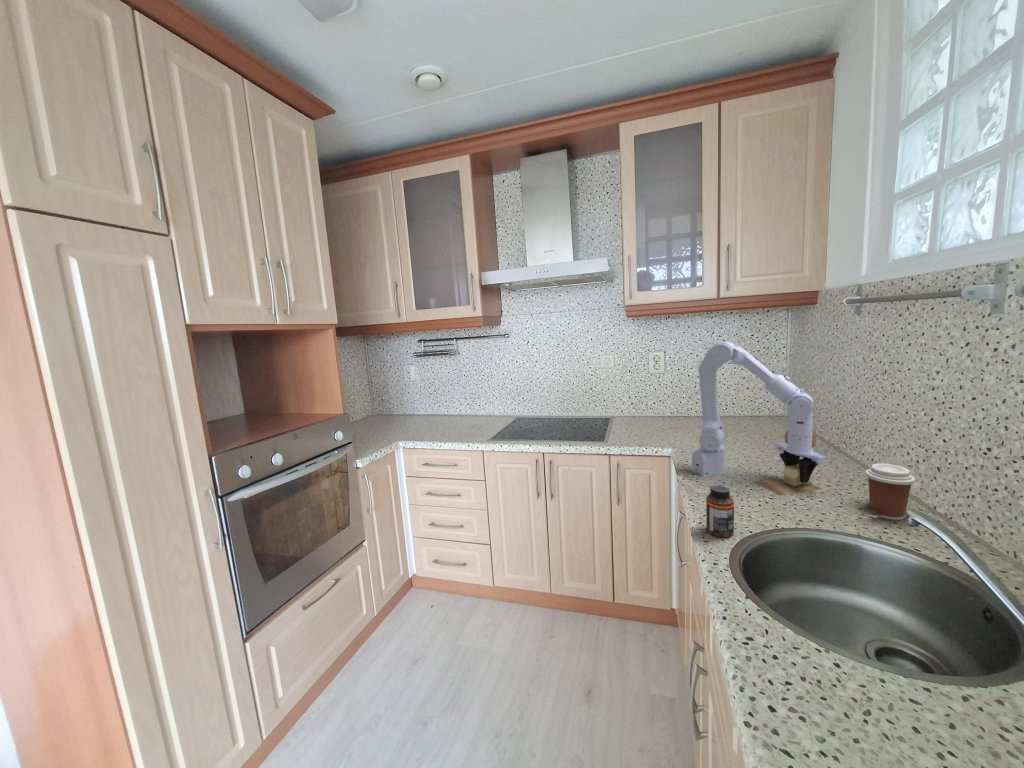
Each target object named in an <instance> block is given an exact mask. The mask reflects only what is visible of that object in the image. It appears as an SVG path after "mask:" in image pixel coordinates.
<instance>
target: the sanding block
mask: <svg viewBox="0 0 1024 768" xmlns="http://www.w3.org/2000/svg"><path fill="white" fill-rule="evenodd" d="M783 469H784V470H783V477H784V483H786V484H788V485H791V486H793V487H799V486H805V485H812V484H813V472H814V471H813V472H812V474H811V476H810V479H809V482H806V483H802V482H801V481H800V470H799V465H792V466H785V465H784V468H783Z"/></svg>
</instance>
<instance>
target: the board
mask: <svg viewBox="0 0 1024 768" xmlns="http://www.w3.org/2000/svg"><path fill="white" fill-rule="evenodd" d="M752 483H754V484H756V485H758V486H760V487H762V488H764V489H766V490H768V491H770V492H772V493H775V494H777V495H779V496H783V495H791V494H798V493H804V492H809V491H810V492H811V491H816V490H822V489H823V487H819V486H817V485H815V484H813V483H812V485H805V486H799V487H793V486H791V485H788V484H786V483H784V476H783V477H779V478H778V477H777V478H771V479H763V480H758V481H753V482H752Z"/></svg>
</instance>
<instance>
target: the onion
mask: <svg viewBox="0 0 1024 768" xmlns="http://www.w3.org/2000/svg"><path fill="white" fill-rule="evenodd" d="M784 440H785V444H788V429H787V430H786V432H785V434H784ZM816 442H817V435H816V433H815V432H814V431H813V430H812V448H813V449H814V447H815V446H816Z"/></svg>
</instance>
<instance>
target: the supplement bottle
mask: <svg viewBox="0 0 1024 768" xmlns="http://www.w3.org/2000/svg"><path fill="white" fill-rule="evenodd" d="M709 492H710V493H708V494H707V495H706V502H705V505H706V507H705V508H706V512H705V513H706V516H705V518H706V520H705V521H706V523H705V524H706V531H707V532H708V533H709V534H711V535H713V536H715V537H718V538H723V539H724V538H729V537H732V536H733V535H734V532H735V501H734V498H733V497H732V496H730V488H729V487H727V486H725V485H718V484H715V485H711V487H710V491H709Z"/></svg>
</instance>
